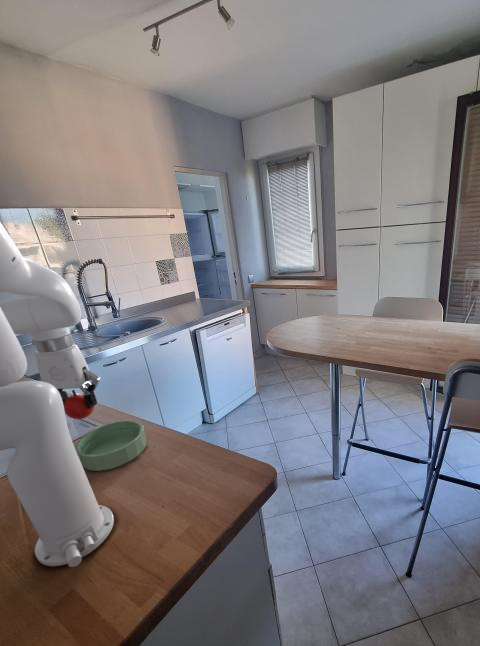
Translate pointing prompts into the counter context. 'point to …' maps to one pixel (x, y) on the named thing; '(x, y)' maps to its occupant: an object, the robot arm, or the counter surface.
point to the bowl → (111, 445)
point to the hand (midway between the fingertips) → (79, 406)
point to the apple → (77, 406)
